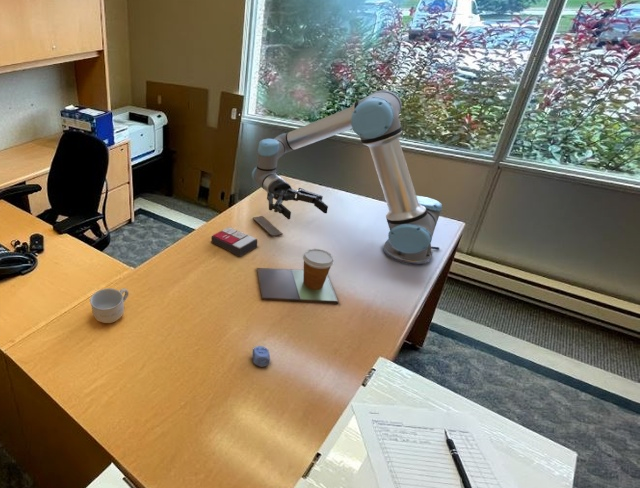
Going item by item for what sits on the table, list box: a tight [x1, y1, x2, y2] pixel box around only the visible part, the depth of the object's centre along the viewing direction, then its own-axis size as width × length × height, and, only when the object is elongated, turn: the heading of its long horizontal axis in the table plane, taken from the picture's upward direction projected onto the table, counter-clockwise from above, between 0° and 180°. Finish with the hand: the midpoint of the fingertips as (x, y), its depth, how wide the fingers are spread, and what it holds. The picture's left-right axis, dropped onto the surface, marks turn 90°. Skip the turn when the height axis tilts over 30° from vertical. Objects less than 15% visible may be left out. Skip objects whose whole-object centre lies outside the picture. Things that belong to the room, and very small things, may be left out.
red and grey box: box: [211, 226, 258, 257], centre depth 170 cm, size 11×4×15 cm
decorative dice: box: [251, 345, 271, 368], centre depth 117 cm, size 4×4×4 cm
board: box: [256, 267, 339, 305], centre depth 145 cm, size 24×17×1 cm
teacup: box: [89, 288, 130, 324], centre depth 137 cm, size 14×11×8 cm
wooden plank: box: [252, 215, 283, 237], centre depth 181 cm, size 17×1×5 cm
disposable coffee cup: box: [302, 248, 335, 290], centre depth 141 cm, size 10×10×12 cm
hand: (308, 212), depth 141 cm, fingers open, 13 cm apart
